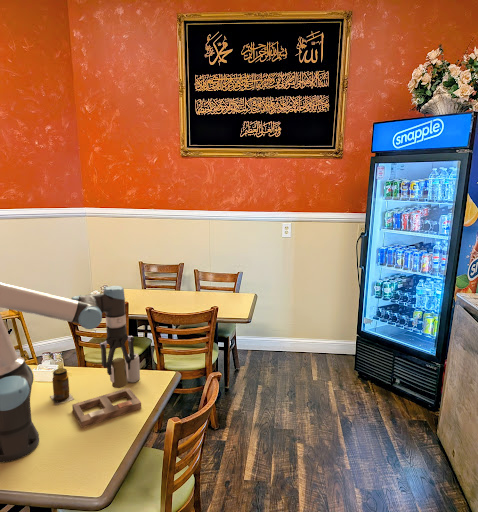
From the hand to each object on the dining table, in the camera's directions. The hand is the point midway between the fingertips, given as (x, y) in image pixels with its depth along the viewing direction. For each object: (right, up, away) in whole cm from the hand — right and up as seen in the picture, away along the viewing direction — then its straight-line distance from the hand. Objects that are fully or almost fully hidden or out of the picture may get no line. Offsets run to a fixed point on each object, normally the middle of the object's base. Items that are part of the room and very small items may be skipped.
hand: (119, 379), depth 157 cm
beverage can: (0, -7, +21) cm, 23 cm away
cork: (0, -2, 0) cm, 2 cm away
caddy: (-4, -11, -2) cm, 12 cm away
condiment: (-26, -10, +6) cm, 28 cm away
